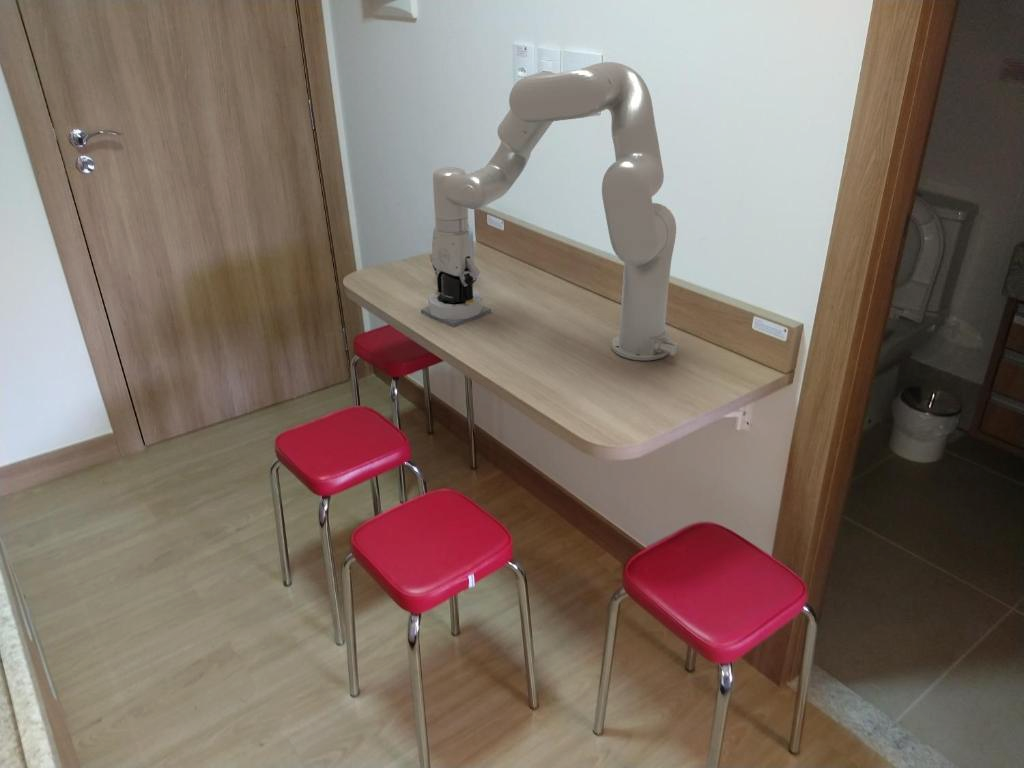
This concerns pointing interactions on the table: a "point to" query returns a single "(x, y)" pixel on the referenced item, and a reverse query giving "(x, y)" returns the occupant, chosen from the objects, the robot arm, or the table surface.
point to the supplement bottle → (451, 289)
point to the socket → (455, 309)
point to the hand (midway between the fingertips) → (455, 295)
